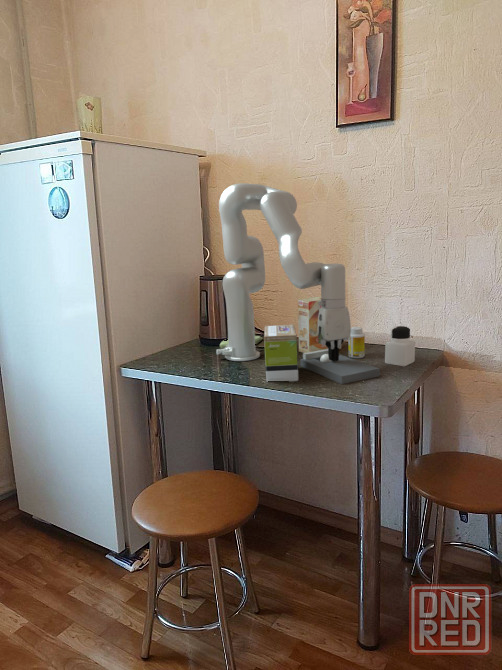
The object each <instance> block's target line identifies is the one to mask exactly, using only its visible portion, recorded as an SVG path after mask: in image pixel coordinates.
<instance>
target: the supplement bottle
mask: <svg viewBox="0 0 502 670" xmlns="http://www.w3.org/2000/svg"><path fill="white" fill-rule="evenodd" d="M365 337H366V336H365V333H363V327H361V326H351V335H350V337H349V338H348V340H347V342H348V343H347V344H348V346H347V348H348V350H347V351H348V352H347V353H348V357H349V358H351V359H362V358H364V357H365V356H366V351H365V349H366V348H365V347H366V346H365V343H366V341H365V339H366V338H365Z"/></svg>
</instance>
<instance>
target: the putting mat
mask: <svg viewBox="0 0 502 670" xmlns="http://www.w3.org/2000/svg"><path fill="white" fill-rule="evenodd" d="M324 354H328V349H325V350H320V351H314V352H308V353H303V352H302V358H300V367H302V368H304V369H306V370H309V371H311V372H313V373H316V374H318V375H320V376H322V377H325V378H327V379H329V380H331V381H334V382H336V383H338V384H340V385H344V384H349V383H353V382H359V381H363V380H367V379H372V378H377V377H380V375H381V374H380V373H381V372H380V369H381V368H379V367H376V366H374V365H370V364H368V363H365V362H362V361H360V360H357V359H355V358H351V357H349V356H346V355H343V354H340V353H339V360H338V361H330V362H325V363H324V362H321V361H320V358H321V356H322V355H324Z"/></svg>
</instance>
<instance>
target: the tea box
mask: <svg viewBox="0 0 502 670" xmlns="http://www.w3.org/2000/svg"><path fill="white" fill-rule="evenodd" d="M263 337H264V338H263V341H264V343H263V344H264V361H265V365H264V366H265V377H266V379H265V380H266V382H267V383H269V382H268V381H289V382H298V381H299V360H298V359H299V358H298V357H299V355H298V354H299V353H298V352H299V350H298V337H297V332H296V328H295V324H282V325H280V324H279V325H264V335H263Z"/></svg>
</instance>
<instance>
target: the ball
mask: <svg viewBox="0 0 502 670" xmlns="http://www.w3.org/2000/svg"><path fill="white" fill-rule="evenodd" d="M320 361H321V362H324V363H325V362H330V361H332V360H329V357H328V354H324V355H322V356H321V358H320Z"/></svg>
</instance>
